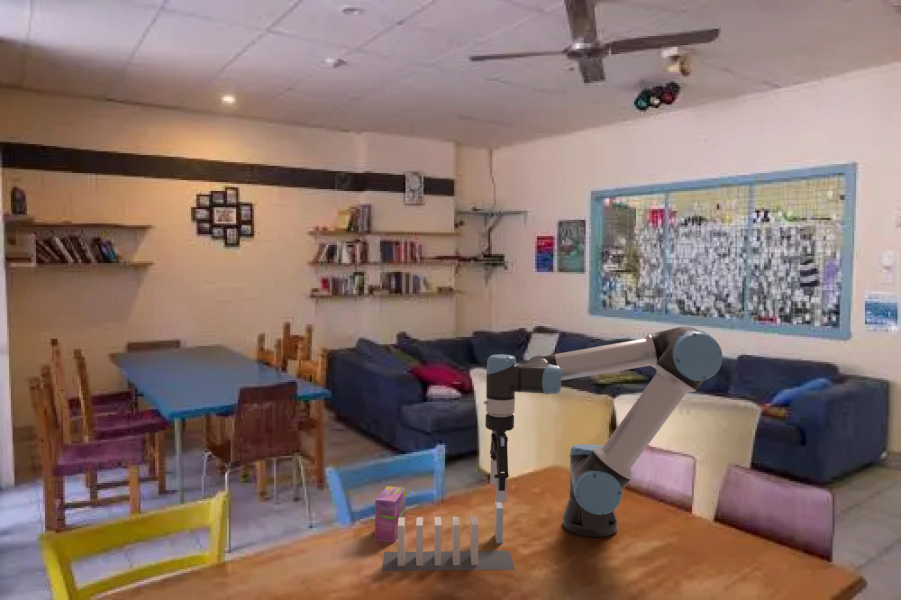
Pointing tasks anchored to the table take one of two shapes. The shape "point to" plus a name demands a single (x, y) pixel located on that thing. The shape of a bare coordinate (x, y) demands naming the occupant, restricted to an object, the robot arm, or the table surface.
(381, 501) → the box
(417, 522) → the domino
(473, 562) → the domino
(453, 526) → the domino
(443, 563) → the mat
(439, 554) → the domino
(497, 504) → the domino
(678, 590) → the table surface
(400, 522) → the domino
